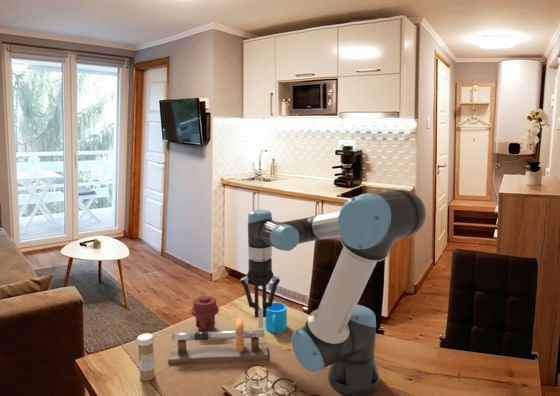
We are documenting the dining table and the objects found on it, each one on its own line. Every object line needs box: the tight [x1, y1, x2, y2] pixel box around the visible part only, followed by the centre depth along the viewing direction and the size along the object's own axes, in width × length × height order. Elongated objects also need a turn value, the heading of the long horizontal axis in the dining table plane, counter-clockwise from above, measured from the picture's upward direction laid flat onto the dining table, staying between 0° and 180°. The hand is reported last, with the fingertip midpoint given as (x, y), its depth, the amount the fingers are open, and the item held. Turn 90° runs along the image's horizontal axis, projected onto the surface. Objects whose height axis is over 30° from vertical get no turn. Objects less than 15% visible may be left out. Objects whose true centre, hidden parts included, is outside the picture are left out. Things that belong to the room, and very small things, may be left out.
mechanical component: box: [191, 295, 220, 332], centre depth 161 cm, size 12×10×10 cm
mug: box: [264, 302, 288, 334], centre depth 161 cm, size 12×8×8 cm
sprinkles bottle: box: [136, 332, 156, 382], centre depth 131 cm, size 5×5×13 cm
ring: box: [235, 317, 245, 352], centre depth 144 cm, size 8×2×8 cm, turn 5°
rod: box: [171, 329, 265, 342], centre depth 143 cm, size 30×2×2 cm, turn 95°
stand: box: [167, 338, 269, 365], centre depth 144 cm, size 8×32×6 cm, turn 95°
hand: (260, 326), depth 144 cm, fingers closed
